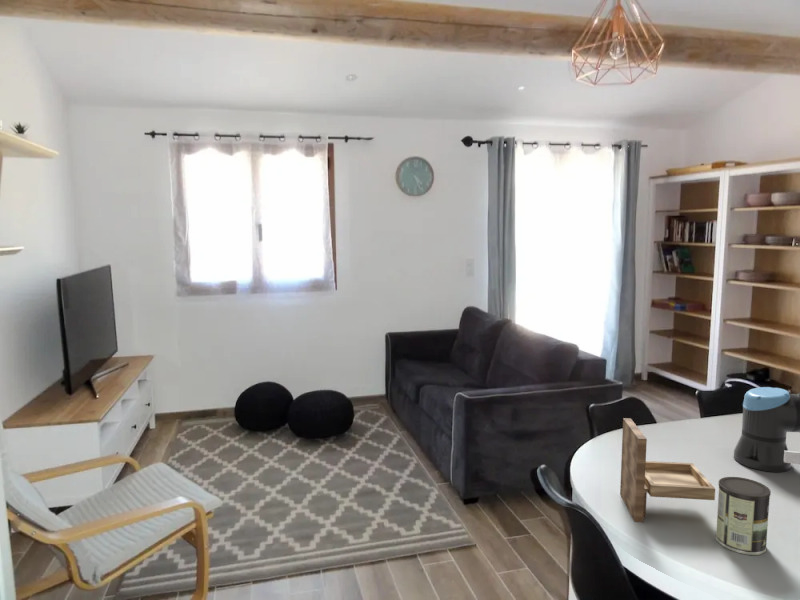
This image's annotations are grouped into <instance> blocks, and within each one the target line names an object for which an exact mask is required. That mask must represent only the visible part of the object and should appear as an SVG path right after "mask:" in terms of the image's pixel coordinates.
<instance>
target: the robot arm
mask: <svg viewBox="0 0 800 600" xmlns="http://www.w3.org/2000/svg"><path fill="white" fill-rule="evenodd" d="M743 397H744V399H743V402H742V421H741V422H742V423H741V424H742V425H741V435H740V438H739V439H738V441H737V442H736V445H735V448H734V449H733V459H734V460H735V461H736V462H737V463H739V464H741V465H743V466H745V467H748V468H750V469H753V470H758V471H764V472H770V473H771V472H773V473H782V472H787V471H789V470H791V467H792V464H795V465H800V451H795V450H794V451H792V450H789V448H788V444H787V433H800V392H799V393H790V392H789V391H788V390H786V389H784V388H780V387H771V386H763V387H762V386H761V387H755V388H751V389H749V390H748V391H746V393H745V394H744V396H743Z"/></svg>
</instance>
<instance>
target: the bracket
mask: <svg viewBox="0 0 800 600" xmlns="http://www.w3.org/2000/svg"><path fill="white" fill-rule="evenodd" d="M647 439H648V438H647V437H646V435H644V434H643V432H642V431H641V430H640V428H639V427H638V426H637V425H636V423H635V422H634V421H633V418H630V417H629V418H627V417H625V418H624V417H623V419H622V439H621V440H622V442H621V461H620V462H621V465H620V488H619V493H620V496H621V498H622V500H623V502H624V504H625V506H626V508H627V510H628V511H629V514H630V516H631V518H632V519H633V521H634V523H644V519H645V518H647V517H646V516H647V514H646V513H647V495H649V496H650V497H653V498H667V499H669V498H670V499H685V500H687V499H688V500H704V501H706V500H707V501H716V488H715V487H714V485H712V483H711V482H710V481H709V480H708V479H707V478H706V476H704V474H703V473H702V472H701V471H700V470H699V469H698V468H697V466H696V465H695V464H694V463H692V462H676V461H675V462H671V461H651V460H647V441H648V440H647Z"/></svg>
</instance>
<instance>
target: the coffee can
mask: <svg viewBox="0 0 800 600" xmlns="http://www.w3.org/2000/svg"><path fill="white" fill-rule="evenodd" d="M771 493H772V492H771V489H770V488H769V487H768V486H767V485H765V484H763V483H762V482H760V481H757V480H753V479H750V478H745V477H740V476H739V477H738V476H725V477H722V478H719V479H718V498H717V515H716V516H717V517H716V534H715V539H716V541H717V543H719V544H720V545H721V546H722V547H724V548H726V549H727V550H730V551H732V552H734V553H738V554H742V555H748V556H758V555H760V556H761V555H763V554H765V553H766V551H767V540H768V539H767V538H768V525H769V509H770V499H771V498H770V497H771Z"/></svg>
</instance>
